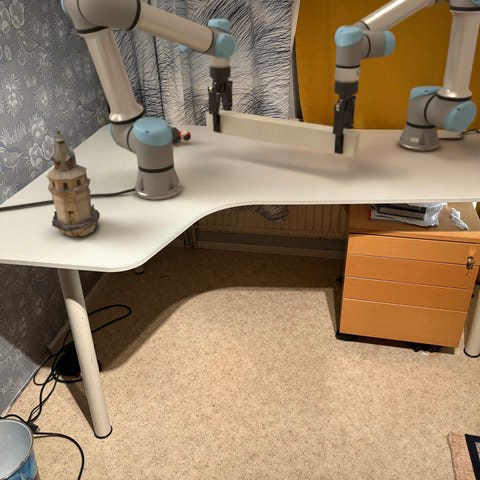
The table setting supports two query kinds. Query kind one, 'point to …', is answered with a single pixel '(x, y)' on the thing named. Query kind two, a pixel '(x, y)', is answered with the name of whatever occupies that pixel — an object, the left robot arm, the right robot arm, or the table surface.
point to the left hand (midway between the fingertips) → (221, 129)
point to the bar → (284, 132)
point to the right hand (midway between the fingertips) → (341, 150)
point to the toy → (179, 135)
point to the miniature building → (70, 193)
